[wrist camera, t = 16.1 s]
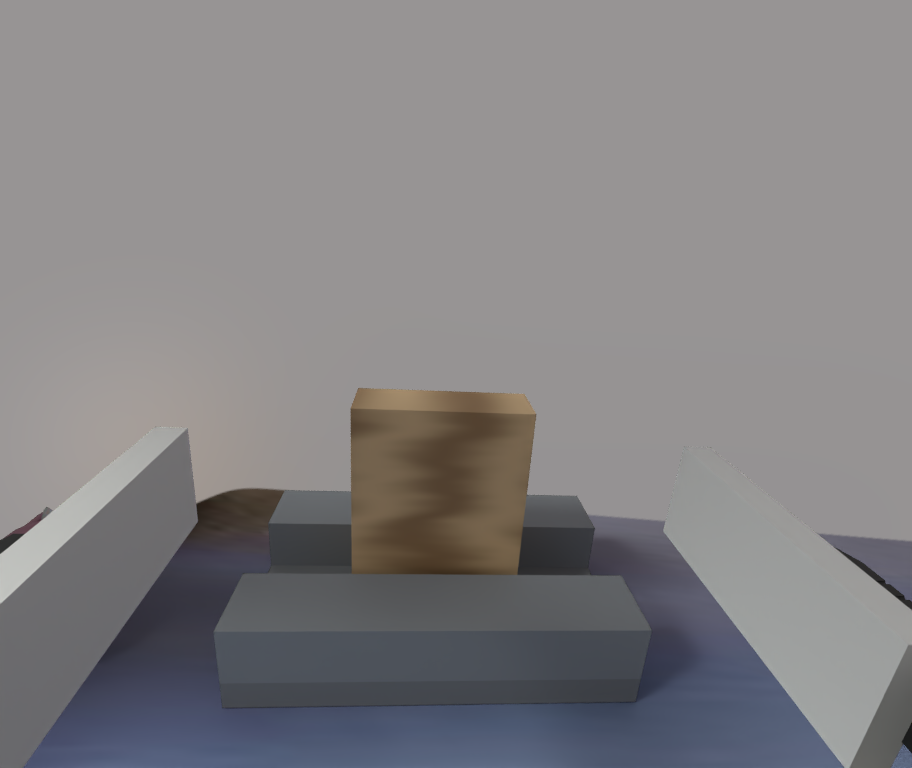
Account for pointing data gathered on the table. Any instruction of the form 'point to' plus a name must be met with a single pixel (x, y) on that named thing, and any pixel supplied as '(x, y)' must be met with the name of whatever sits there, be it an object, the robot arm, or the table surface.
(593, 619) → the grooved sill
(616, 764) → the table surface
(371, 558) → the oak plank
